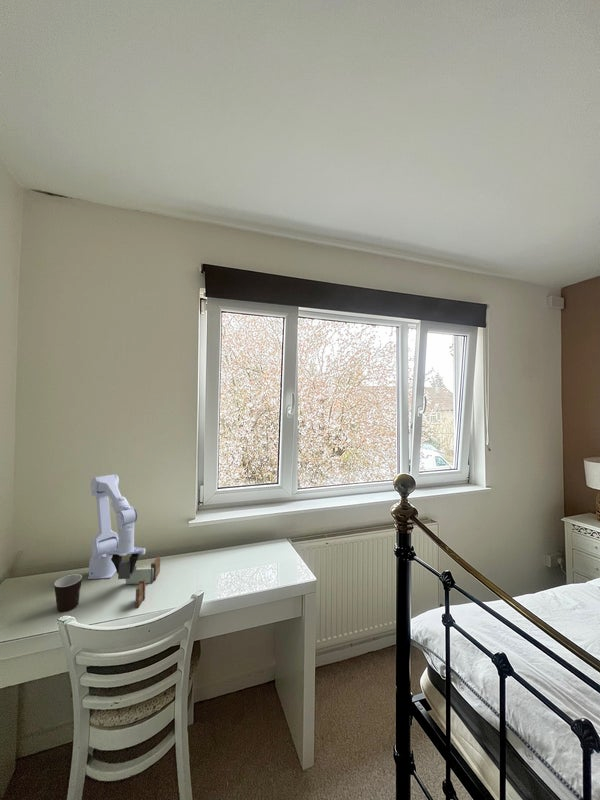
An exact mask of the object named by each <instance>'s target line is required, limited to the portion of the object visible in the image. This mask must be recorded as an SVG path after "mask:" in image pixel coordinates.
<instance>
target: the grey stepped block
mask: <svg viewBox="0 0 600 800" xmlns="http://www.w3.org/2000/svg"><path fill="white" fill-rule="evenodd" d="M136 568H137V565H135V568H134V571H133V573H130V560H122V561H121V562H120V563H119V571H118V575H117V577H118V578H117V580H126V579H130V578H131V576H132V575H133V574H134V573H135V572H136Z"/></svg>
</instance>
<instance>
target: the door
mask: <svg viewBox="0 0 600 800" xmlns="http://www.w3.org/2000/svg"><path fill="white" fill-rule="evenodd" d="M153 576H154V568H151V567H138V568H137V567H136V572H135V573H134V574H133V575H132V576H131V578H130V579H125V585H132V584H133V585H134V584H136V585H137V584H139V581H140V580H146V582H145V584H152V583H154V581H153Z"/></svg>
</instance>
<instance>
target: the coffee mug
mask: <svg viewBox="0 0 600 800" xmlns="http://www.w3.org/2000/svg"><path fill="white" fill-rule="evenodd" d="M82 580H83V575H81V574H78V573H77V574H76V573H74V574H69V575H65V576H62V577H60V578H58V579H56V580H55V582H54V583H53V587H54V594H55V603H56V610H57V612H58V613H67V612H70V611H72V610H74V609H76V608H77V607H78V605H79V601H80V593H81V589H82Z"/></svg>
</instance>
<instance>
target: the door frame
mask: <svg viewBox="0 0 600 800" xmlns="http://www.w3.org/2000/svg"><path fill="white" fill-rule="evenodd" d="M150 568H154V576H153V582H156V580H157V577H158V576H159V574H160V572H161V556H160V555H159V556H156V558H155V559H154V561H153V562H152V561H151V563H150ZM145 582H146V580H140V581H139V583H138V586H137V588H135V609H138V608H140V607H141V604H143V601H145V599H146V583H145Z"/></svg>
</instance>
